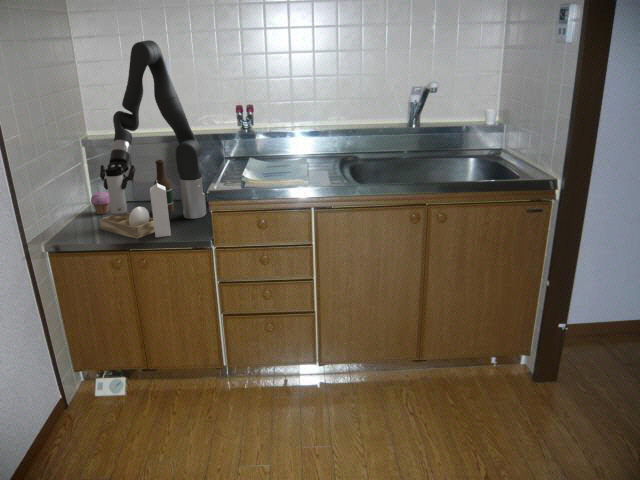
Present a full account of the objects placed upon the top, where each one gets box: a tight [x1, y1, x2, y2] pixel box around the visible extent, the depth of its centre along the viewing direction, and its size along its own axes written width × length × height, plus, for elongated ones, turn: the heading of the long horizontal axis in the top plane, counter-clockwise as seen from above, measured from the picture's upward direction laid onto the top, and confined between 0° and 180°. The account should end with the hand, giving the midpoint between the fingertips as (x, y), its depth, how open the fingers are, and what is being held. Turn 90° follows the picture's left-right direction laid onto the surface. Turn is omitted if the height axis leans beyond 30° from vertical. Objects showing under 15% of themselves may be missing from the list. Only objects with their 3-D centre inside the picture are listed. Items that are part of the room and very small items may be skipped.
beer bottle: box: [153, 159, 175, 215], centre depth 243 cm, size 8×8×24 cm
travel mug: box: [105, 166, 128, 216], centre depth 223 cm, size 6×7×20 cm
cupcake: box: [90, 191, 110, 215], centre depth 246 cm, size 9×9×10 cm
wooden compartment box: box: [98, 211, 155, 240], centre depth 225 cm, size 12×22×4 cm, turn 58°
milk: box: [149, 183, 172, 238], centre depth 216 cm, size 6×6×22 cm
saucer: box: [129, 206, 150, 227], centre depth 221 cm, size 10×1×10 cm, turn 148°
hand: (114, 188), depth 221 cm, fingers closed on travel mug, 6 cm apart
